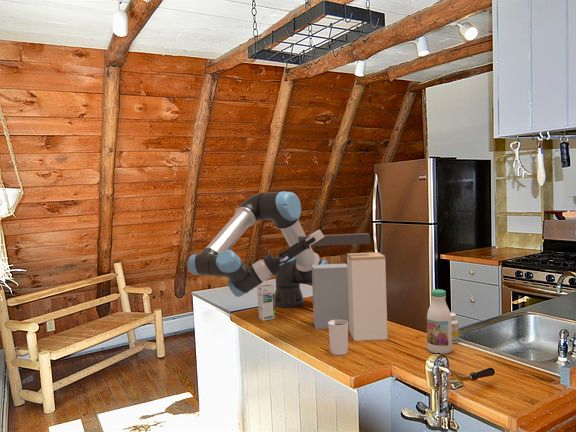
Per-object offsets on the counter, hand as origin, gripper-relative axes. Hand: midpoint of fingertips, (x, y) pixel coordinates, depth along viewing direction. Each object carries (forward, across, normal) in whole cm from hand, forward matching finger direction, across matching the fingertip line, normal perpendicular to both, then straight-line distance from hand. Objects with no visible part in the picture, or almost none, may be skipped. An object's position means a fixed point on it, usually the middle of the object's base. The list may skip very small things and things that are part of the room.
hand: (321, 233), depth 165 cm
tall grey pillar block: (-16, -15, -36) cm, 42 cm away
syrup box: (-39, -29, -23) cm, 53 cm away
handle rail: (+1, 0, -6) cm, 6 cm away
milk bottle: (+11, +19, -52) cm, 56 cm away
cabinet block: (-6, 0, -41) cm, 42 cm away
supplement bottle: (+17, +11, -55) cm, 59 cm away
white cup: (-17, +16, -35) cm, 42 cm away
